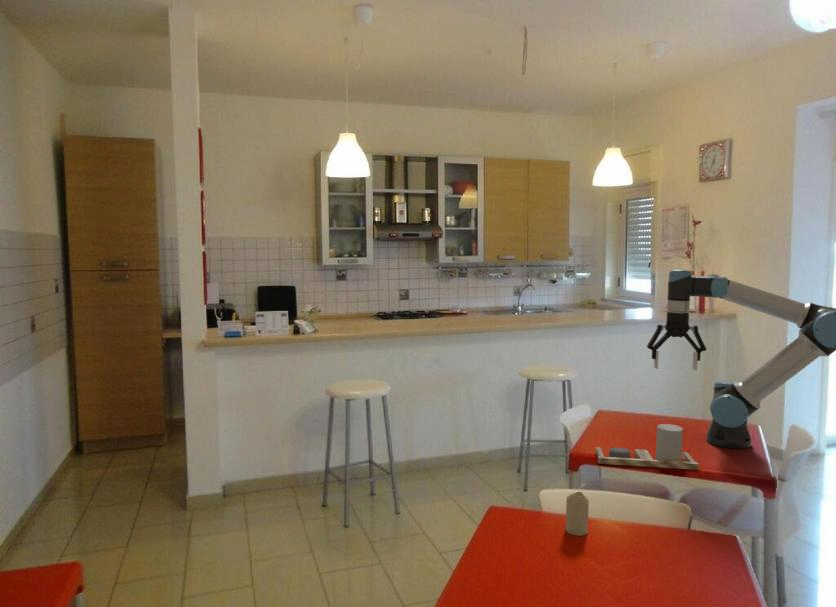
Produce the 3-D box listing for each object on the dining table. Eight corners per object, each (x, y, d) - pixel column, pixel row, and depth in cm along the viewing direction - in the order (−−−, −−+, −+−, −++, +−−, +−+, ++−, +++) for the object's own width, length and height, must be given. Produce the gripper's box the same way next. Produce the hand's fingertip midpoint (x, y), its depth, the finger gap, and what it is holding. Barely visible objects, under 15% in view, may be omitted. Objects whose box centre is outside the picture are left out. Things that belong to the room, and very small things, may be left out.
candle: (572, 524, 159) (574, 487, 158) (591, 531, 155) (592, 493, 155) (561, 530, 156) (562, 493, 155) (580, 538, 152) (581, 500, 151)
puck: (628, 456, 212) (628, 448, 212) (631, 463, 205) (632, 455, 205) (607, 455, 213) (608, 446, 213) (610, 462, 206) (610, 453, 206)
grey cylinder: (676, 457, 210) (678, 424, 209) (684, 466, 202) (686, 431, 201) (652, 456, 211) (654, 423, 210) (659, 465, 203) (661, 430, 202)
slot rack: (688, 457, 211) (688, 452, 210) (698, 469, 199) (698, 463, 199) (594, 452, 215) (594, 446, 215) (598, 463, 204) (598, 457, 204)
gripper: (710, 311, 222) (707, 368, 224) (640, 309, 226) (638, 365, 228) (717, 313, 215) (714, 372, 217) (644, 312, 219) (642, 369, 221)
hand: (675, 368), depth 222 cm, fingers open, 13 cm apart
